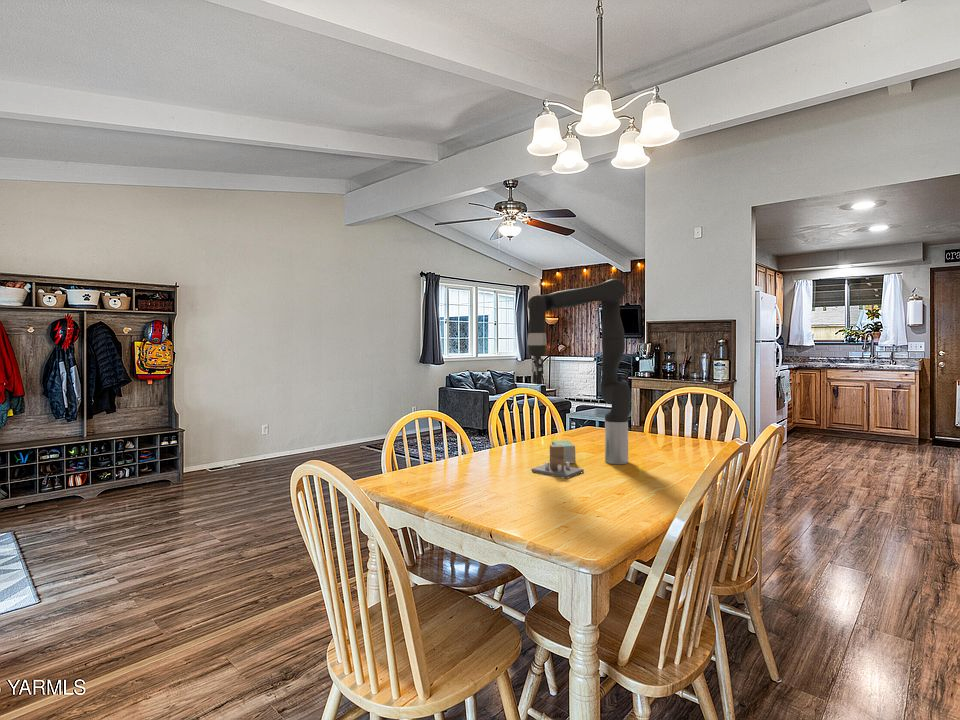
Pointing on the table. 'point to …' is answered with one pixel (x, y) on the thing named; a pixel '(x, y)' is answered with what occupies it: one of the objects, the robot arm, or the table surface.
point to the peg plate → (564, 473)
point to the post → (556, 456)
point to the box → (567, 450)
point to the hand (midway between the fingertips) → (537, 383)
